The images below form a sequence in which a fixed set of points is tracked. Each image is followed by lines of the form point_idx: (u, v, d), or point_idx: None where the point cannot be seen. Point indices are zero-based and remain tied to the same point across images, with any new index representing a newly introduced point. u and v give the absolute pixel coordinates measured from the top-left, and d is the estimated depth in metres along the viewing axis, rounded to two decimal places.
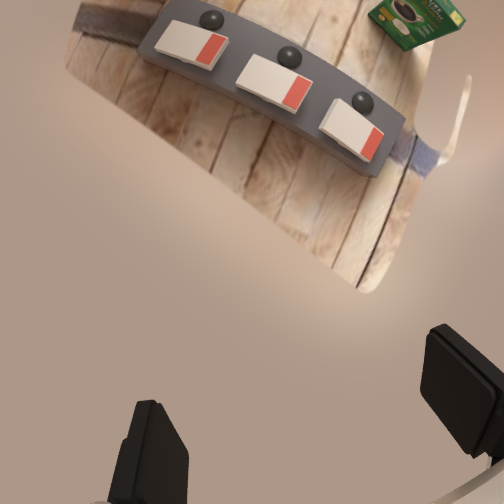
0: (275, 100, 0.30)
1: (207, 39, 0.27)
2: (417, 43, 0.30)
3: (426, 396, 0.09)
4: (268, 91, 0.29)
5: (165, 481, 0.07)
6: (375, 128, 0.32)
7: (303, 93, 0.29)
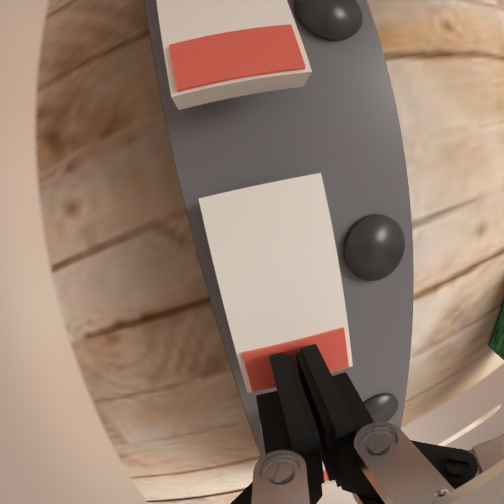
0: (234, 334, 0.10)
1: (260, 24, 0.07)
2: None
3: None
4: (243, 301, 0.10)
5: None
6: None
7: None
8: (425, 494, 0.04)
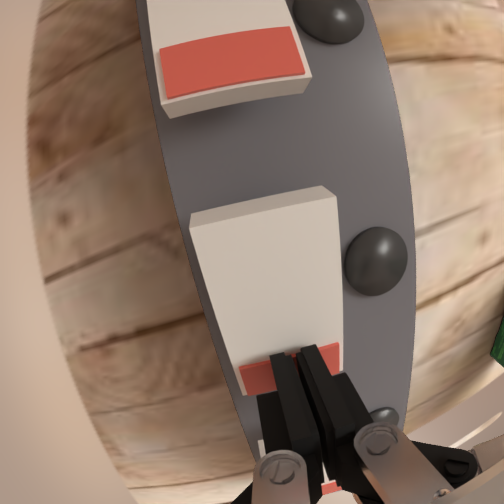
0: (231, 353, 0.10)
1: (256, 26, 0.07)
2: None
3: None
4: (241, 326, 0.10)
5: None
6: None
7: None
8: (425, 494, 0.04)
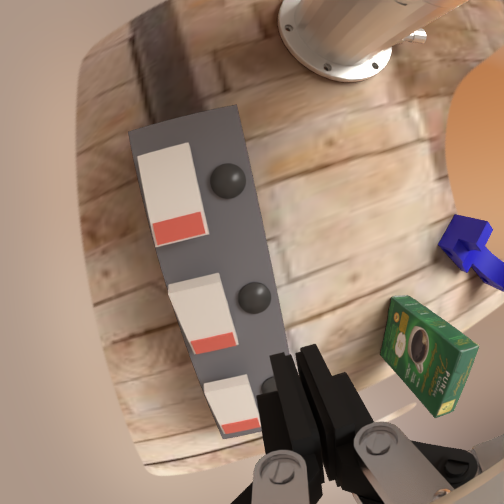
0: (187, 335, 0.25)
1: (187, 212, 0.22)
2: (395, 369, 0.31)
3: None
4: (189, 325, 0.25)
5: None
6: (257, 419, 0.28)
7: (218, 348, 0.26)
8: (425, 494, 0.04)
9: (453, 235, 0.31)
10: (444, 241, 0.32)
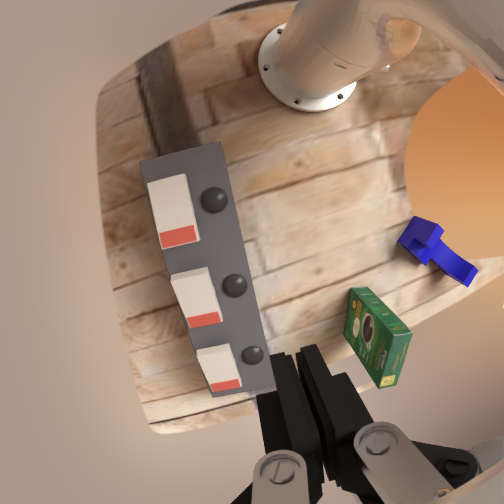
0: (184, 313, 0.35)
1: (184, 225, 0.31)
2: (353, 347, 0.40)
3: None
4: (186, 305, 0.34)
5: None
6: (238, 380, 0.38)
7: (207, 323, 0.36)
8: (425, 494, 0.04)
9: (410, 234, 0.39)
10: (402, 239, 0.40)
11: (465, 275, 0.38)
